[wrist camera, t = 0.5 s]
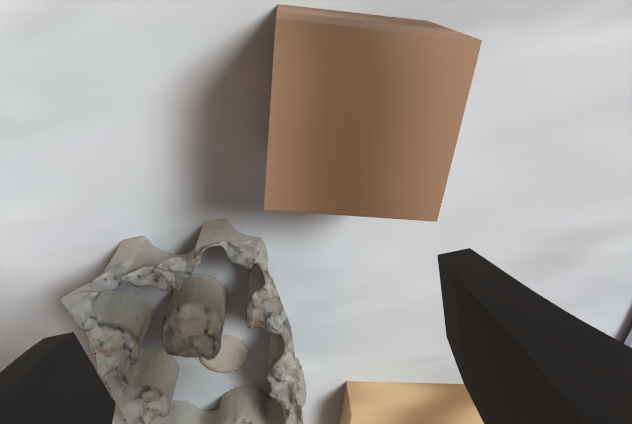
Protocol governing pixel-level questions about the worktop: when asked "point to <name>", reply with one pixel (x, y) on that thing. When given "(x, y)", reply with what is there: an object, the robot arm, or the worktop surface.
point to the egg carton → (187, 332)
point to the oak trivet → (407, 404)
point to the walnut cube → (364, 113)
